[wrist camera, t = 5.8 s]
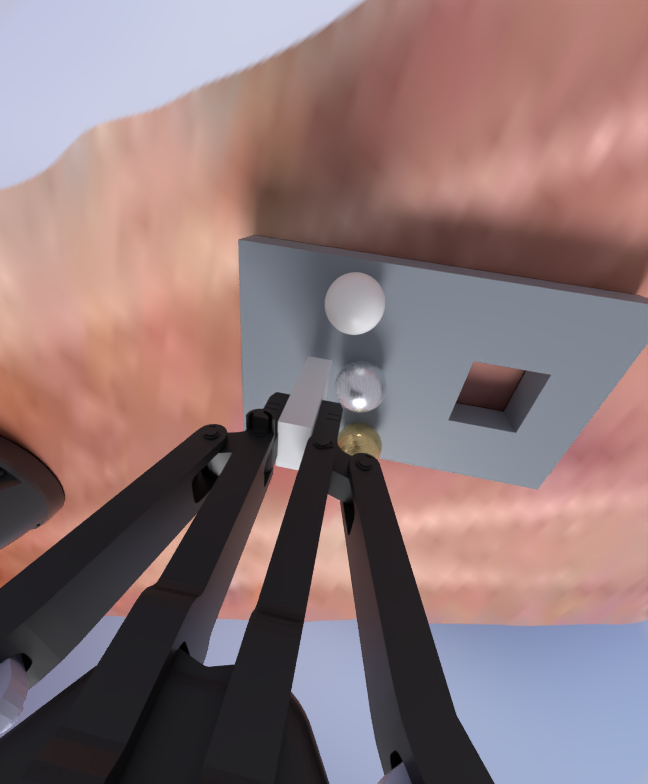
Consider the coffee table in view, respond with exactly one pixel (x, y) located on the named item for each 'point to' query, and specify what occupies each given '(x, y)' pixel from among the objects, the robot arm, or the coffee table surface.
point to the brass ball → (360, 440)
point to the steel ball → (360, 386)
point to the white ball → (354, 303)
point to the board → (442, 353)
